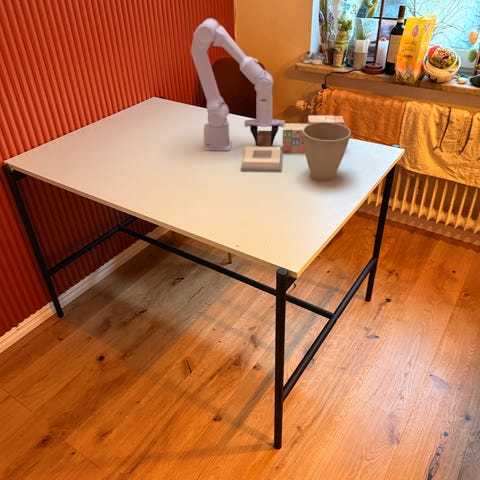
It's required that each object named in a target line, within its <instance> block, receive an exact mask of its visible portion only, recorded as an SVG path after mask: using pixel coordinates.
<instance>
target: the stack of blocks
mask: <svg viewBox="0 0 480 480" xmlns="http://www.w3.org/2000/svg"><path fill="white" fill-rule="evenodd" d="M318 122H331V123H337V124H341V125H343V126H345V121H344V116H343V115H308V116H307V123H287V122H286V123H284V126H283V127H282V151H283V154H305V148H304V138H303V129H304V127H306V126H307V125H309V124H312V123H318Z"/></svg>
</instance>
